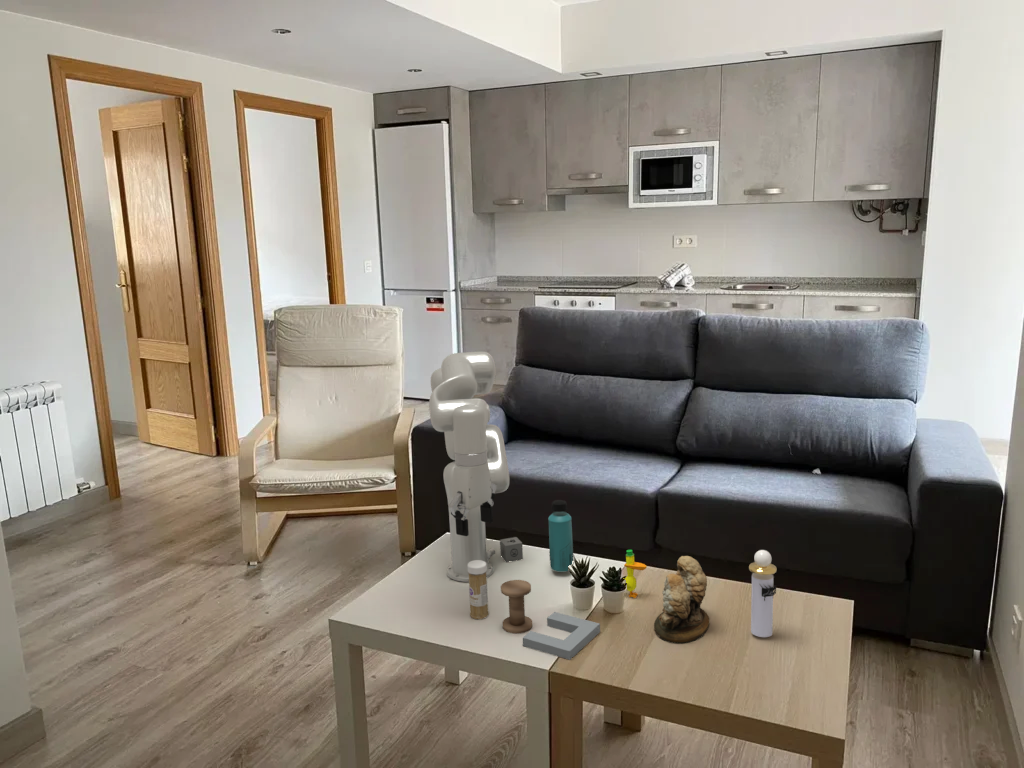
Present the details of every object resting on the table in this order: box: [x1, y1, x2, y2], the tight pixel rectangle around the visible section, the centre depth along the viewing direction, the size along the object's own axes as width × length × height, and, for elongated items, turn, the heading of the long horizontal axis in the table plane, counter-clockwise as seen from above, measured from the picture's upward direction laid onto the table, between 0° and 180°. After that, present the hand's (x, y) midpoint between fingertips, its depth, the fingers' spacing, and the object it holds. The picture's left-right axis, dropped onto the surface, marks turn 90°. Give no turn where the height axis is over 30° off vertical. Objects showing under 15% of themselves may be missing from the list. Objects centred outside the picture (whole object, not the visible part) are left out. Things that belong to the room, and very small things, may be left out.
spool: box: [500, 579, 534, 635], centre depth 184 cm, size 7×7×10 cm
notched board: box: [522, 611, 601, 661], centre depth 178 cm, size 14×12×2 cm
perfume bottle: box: [748, 549, 777, 638], centre depth 174 cm, size 6×6×20 cm
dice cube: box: [499, 536, 524, 563], centre depth 224 cm, size 5×5×5 cm
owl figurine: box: [653, 555, 710, 645], centre depth 180 cm, size 18×12×17 cm, turn 153°
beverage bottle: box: [547, 499, 575, 573], centre depth 211 cm, size 6×7×20 cm
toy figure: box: [623, 549, 648, 599], centre depth 196 cm, size 7×4×12 cm, turn 63°
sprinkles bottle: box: [467, 560, 489, 620], centre depth 190 cm, size 5×5×14 cm
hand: (475, 528), depth 186 cm, fingers open, 9 cm apart
